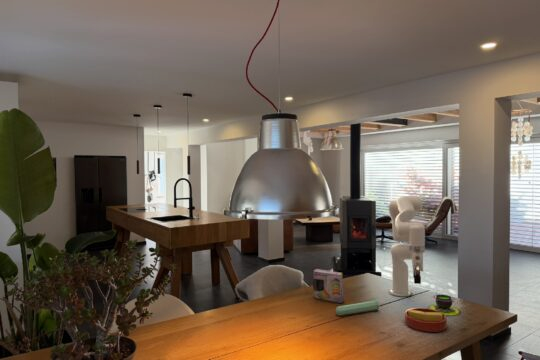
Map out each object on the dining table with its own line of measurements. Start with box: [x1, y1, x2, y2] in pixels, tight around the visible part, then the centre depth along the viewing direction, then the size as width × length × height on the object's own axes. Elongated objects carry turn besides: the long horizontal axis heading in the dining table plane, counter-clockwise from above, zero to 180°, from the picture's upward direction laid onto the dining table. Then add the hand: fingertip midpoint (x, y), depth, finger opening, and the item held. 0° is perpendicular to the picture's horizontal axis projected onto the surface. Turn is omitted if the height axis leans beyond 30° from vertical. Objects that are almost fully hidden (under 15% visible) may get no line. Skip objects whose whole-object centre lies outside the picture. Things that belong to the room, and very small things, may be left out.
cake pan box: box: [312, 268, 345, 304], centre depth 229 cm, size 19×5×18 cm, turn 53°
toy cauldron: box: [428, 291, 460, 316], centre depth 209 cm, size 15×15×11 cm
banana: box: [409, 310, 443, 321], centre depth 191 cm, size 5×16×3 cm, turn 71°
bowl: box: [404, 307, 448, 333], centre depth 190 cm, size 20×20×5 cm
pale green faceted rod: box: [335, 299, 380, 317], centre depth 208 cm, size 6×6×25 cm
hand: (417, 280), depth 197 cm, fingers open, 9 cm apart
